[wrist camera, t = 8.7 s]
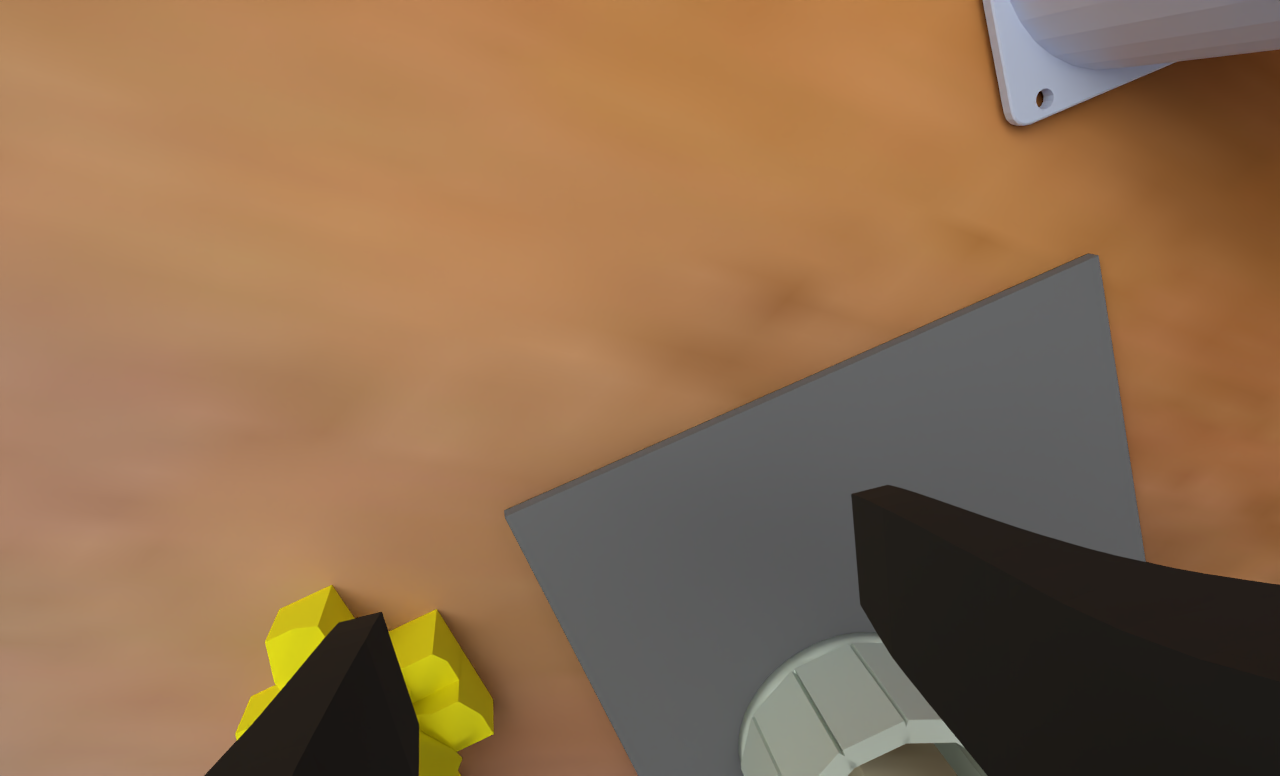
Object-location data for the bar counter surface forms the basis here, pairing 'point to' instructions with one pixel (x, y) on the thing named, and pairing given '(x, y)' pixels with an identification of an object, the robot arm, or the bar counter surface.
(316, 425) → the bar counter surface
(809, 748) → the jar
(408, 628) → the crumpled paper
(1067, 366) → the mat
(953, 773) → the peg
